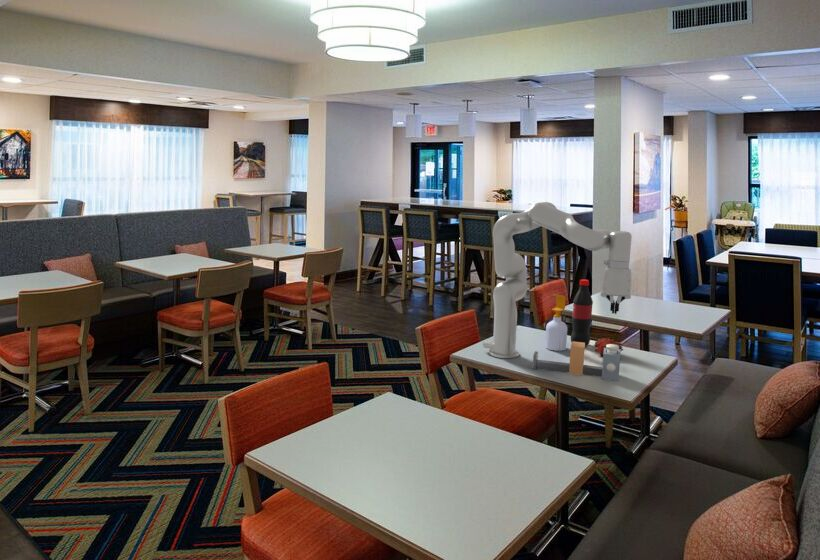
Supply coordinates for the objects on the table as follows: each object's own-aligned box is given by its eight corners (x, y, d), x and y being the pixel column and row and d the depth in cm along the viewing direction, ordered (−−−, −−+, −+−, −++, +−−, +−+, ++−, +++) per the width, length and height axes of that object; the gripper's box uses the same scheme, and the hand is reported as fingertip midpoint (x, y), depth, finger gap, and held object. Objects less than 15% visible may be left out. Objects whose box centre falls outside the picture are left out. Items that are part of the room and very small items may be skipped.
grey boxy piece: (601, 379, 224) (603, 354, 222) (601, 372, 232) (603, 347, 230) (618, 381, 222) (620, 355, 220) (618, 374, 230) (620, 349, 228)
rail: (532, 369, 234) (533, 354, 233) (534, 365, 238) (534, 351, 237) (604, 378, 225) (605, 362, 224) (604, 373, 230) (605, 359, 229)
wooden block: (568, 373, 228) (570, 346, 226) (570, 368, 235) (571, 341, 233) (582, 375, 227) (584, 347, 225) (583, 369, 233) (585, 342, 231)
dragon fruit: (590, 356, 256) (619, 364, 252) (592, 350, 248) (622, 358, 245) (595, 338, 259) (623, 346, 255) (596, 332, 251) (626, 339, 248)
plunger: (605, 359, 224) (606, 346, 223) (605, 356, 229) (606, 343, 228) (617, 361, 223) (618, 348, 222) (617, 357, 227) (618, 344, 226)
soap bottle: (541, 348, 261) (544, 294, 257) (550, 343, 268) (553, 290, 264) (560, 352, 256) (564, 297, 251) (569, 347, 263) (572, 293, 258)
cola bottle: (587, 342, 271) (592, 278, 266) (591, 348, 263) (596, 281, 257) (568, 341, 272) (573, 277, 266) (571, 347, 264) (576, 281, 258)
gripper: (596, 264, 218) (593, 313, 222) (640, 267, 213) (635, 317, 217) (597, 261, 225) (593, 308, 229) (639, 264, 220) (635, 312, 224)
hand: (614, 312), depth 223 cm, fingers closed
